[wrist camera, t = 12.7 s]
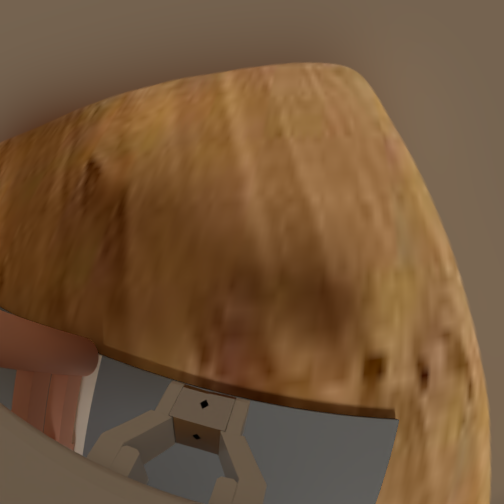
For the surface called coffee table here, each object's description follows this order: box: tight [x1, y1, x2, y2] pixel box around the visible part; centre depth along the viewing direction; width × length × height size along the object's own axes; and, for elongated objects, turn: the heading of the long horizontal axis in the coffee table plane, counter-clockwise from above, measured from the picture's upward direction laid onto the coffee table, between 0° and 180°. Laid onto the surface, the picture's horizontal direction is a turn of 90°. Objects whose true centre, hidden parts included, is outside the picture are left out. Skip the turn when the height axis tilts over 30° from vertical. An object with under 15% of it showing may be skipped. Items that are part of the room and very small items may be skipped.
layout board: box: [0, 307, 399, 504], centre depth 13 cm, size 19×32×1 cm, turn 78°
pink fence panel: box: [0, 310, 98, 450], centre depth 9 cm, size 2×13×10 cm, turn 169°
